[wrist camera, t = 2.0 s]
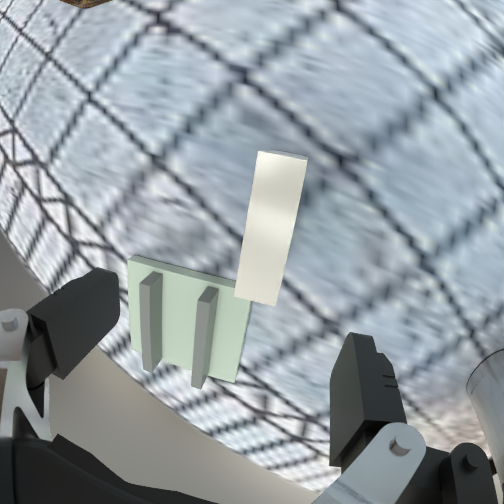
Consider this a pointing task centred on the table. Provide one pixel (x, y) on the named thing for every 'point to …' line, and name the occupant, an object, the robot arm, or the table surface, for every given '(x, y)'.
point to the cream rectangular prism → (269, 225)
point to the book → (85, 2)
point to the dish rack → (186, 319)
